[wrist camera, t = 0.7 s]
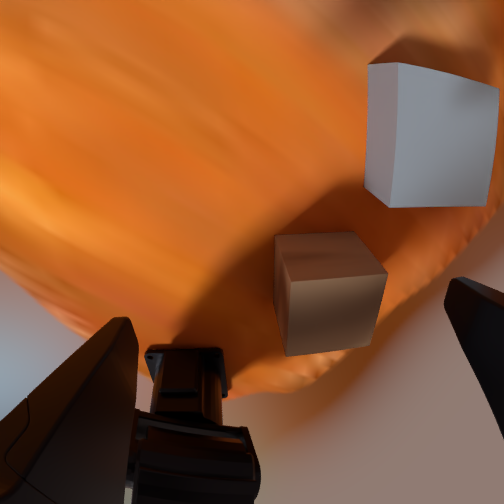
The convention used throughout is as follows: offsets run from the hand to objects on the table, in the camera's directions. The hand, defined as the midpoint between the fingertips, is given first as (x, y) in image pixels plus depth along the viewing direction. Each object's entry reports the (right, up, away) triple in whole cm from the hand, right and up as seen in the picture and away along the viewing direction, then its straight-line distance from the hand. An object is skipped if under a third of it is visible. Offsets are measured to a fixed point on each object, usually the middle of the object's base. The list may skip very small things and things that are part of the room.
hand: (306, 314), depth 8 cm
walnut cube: (+3, 0, +15) cm, 15 cm away
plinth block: (+10, +10, +10) cm, 17 cm away
